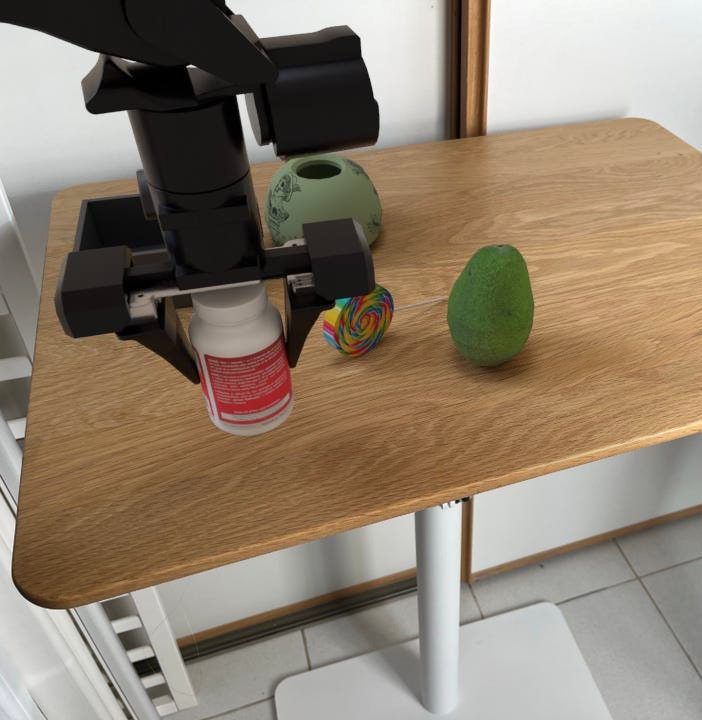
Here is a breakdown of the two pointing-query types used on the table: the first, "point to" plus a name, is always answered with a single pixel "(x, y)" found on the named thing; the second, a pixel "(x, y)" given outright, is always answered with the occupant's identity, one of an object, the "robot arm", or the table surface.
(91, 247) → the bin
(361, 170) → the green rounded hollow pot
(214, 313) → the pill bottle
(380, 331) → the lollipop
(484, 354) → the fruit
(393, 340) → the table surface
